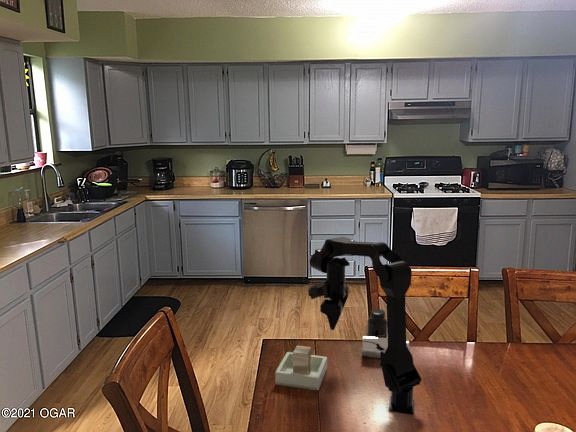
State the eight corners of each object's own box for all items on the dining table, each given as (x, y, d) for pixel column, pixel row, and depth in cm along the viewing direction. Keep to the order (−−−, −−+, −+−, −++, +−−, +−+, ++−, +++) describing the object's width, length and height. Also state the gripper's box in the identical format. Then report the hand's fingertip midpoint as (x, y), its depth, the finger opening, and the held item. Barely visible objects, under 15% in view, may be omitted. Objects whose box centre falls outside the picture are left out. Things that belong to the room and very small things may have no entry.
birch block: (307, 378, 144) (307, 354, 143) (293, 376, 146) (293, 352, 144) (310, 371, 149) (311, 347, 147) (296, 369, 150) (296, 345, 148)
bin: (318, 390, 139) (318, 378, 139) (275, 384, 143) (275, 372, 142) (326, 368, 152) (327, 356, 151) (287, 363, 155) (287, 351, 154)
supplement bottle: (381, 350, 164) (382, 317, 161) (363, 344, 168) (364, 312, 165) (389, 342, 169) (391, 310, 167) (372, 337, 173) (373, 306, 171)
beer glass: (408, 336, 160) (363, 331, 163) (409, 343, 153) (362, 339, 156) (407, 356, 161) (362, 351, 164) (408, 364, 154) (361, 359, 157)
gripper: (316, 266, 162) (316, 310, 165) (303, 284, 144) (303, 333, 147) (349, 268, 159) (348, 313, 162) (340, 287, 141) (339, 337, 144)
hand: (334, 323), depth 154 cm, fingers open, 9 cm apart
